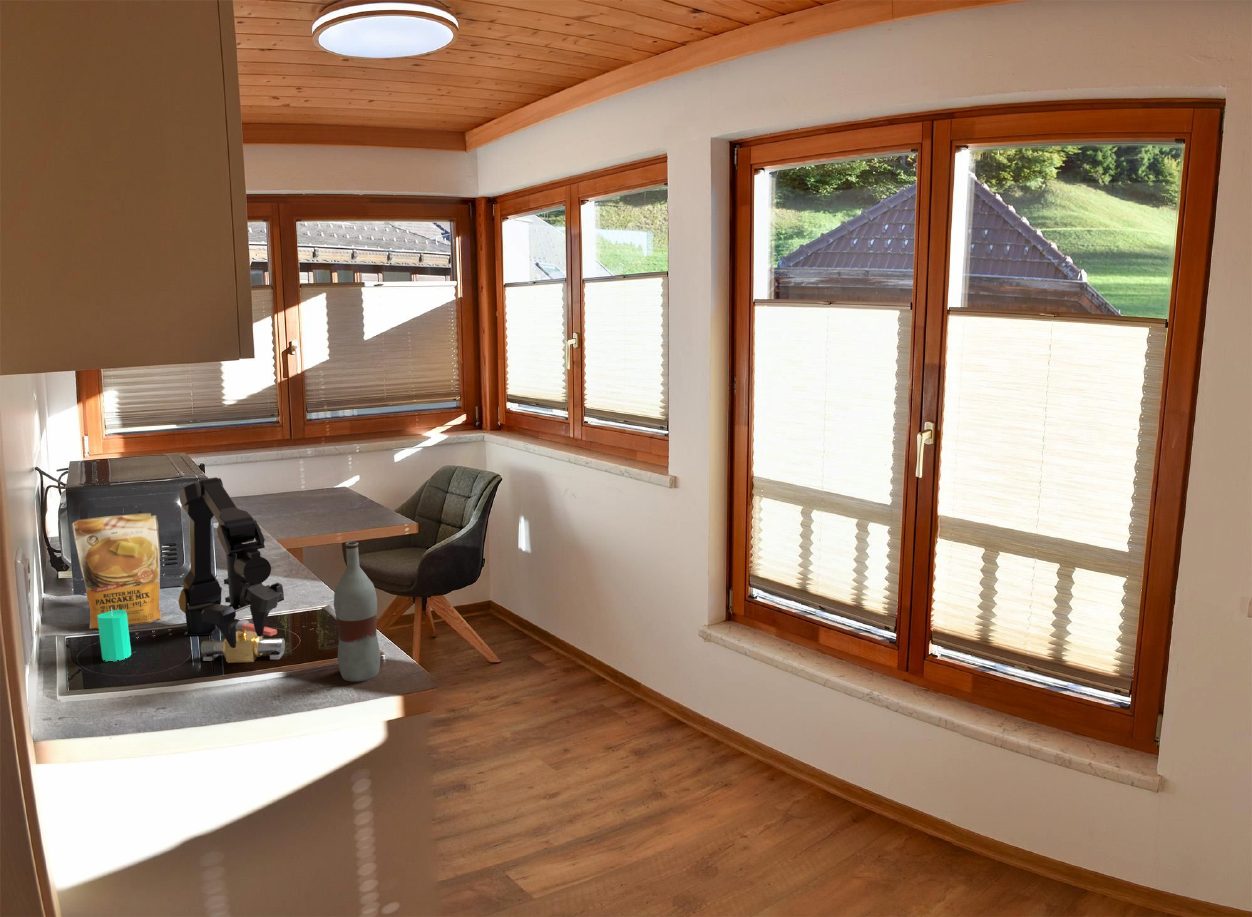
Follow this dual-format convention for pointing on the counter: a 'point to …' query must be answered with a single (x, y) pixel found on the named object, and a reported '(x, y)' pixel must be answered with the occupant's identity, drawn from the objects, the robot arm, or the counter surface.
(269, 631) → the lever
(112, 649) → the candle
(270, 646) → the valve
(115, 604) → the pancake mix bag
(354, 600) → the vodka
